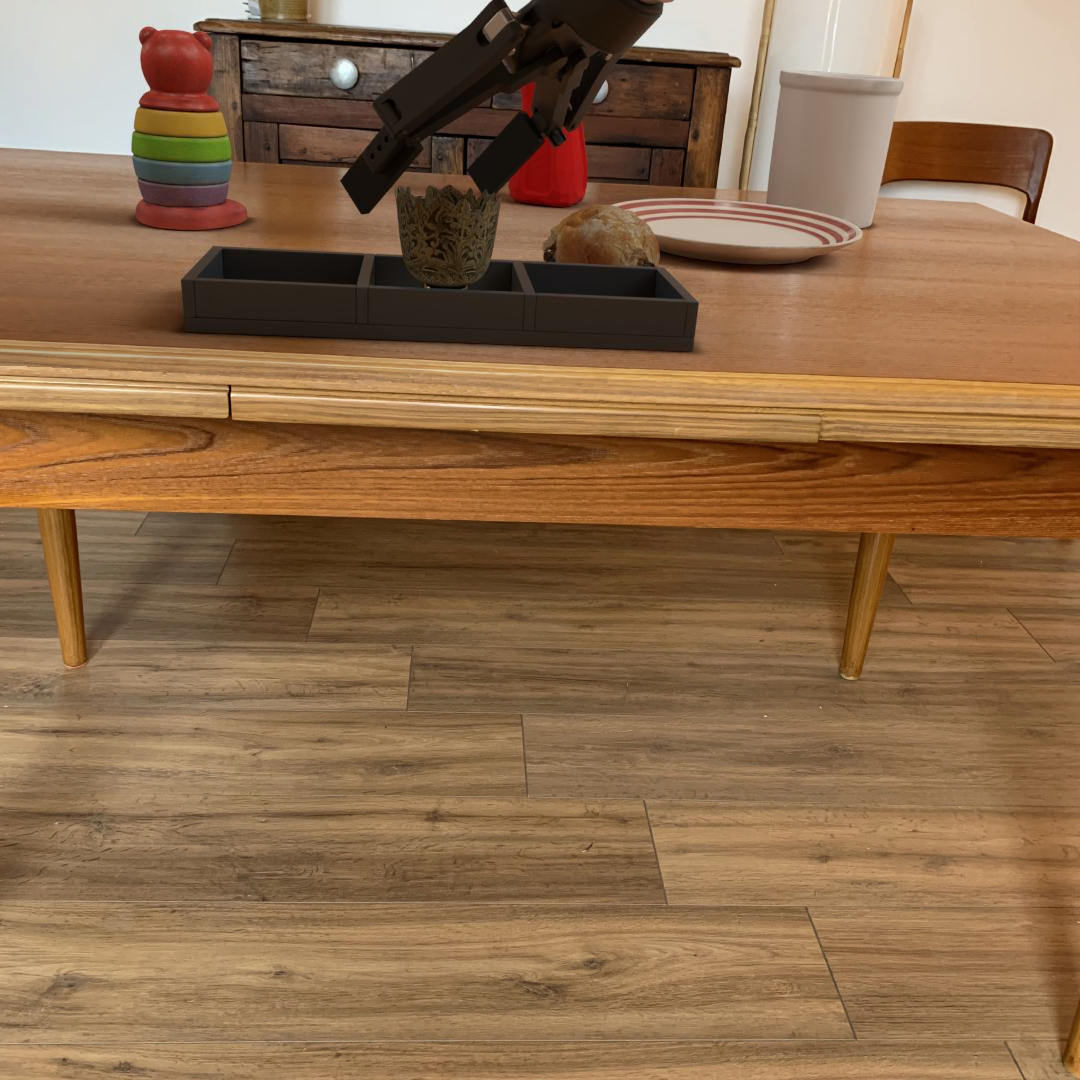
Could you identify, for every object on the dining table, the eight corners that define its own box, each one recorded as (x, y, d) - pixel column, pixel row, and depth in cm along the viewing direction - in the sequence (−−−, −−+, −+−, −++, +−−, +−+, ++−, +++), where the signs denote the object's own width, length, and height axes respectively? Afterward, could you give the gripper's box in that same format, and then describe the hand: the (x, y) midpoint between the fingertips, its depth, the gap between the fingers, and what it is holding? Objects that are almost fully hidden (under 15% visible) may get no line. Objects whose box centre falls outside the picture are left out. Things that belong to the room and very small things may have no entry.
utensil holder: (876, 234, 133) (906, 79, 126) (754, 221, 136) (776, 69, 129) (876, 219, 146) (903, 77, 139) (764, 207, 149) (785, 68, 142)
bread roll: (602, 330, 95) (647, 251, 91) (514, 263, 97) (553, 183, 93) (648, 310, 103) (691, 237, 99) (565, 249, 105) (604, 175, 101)
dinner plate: (829, 287, 101) (835, 251, 100) (559, 248, 111) (561, 214, 109) (876, 248, 124) (882, 217, 122) (649, 218, 134) (652, 189, 132)
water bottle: (495, 203, 136) (506, -22, 126) (524, 194, 146) (536, -16, 135) (566, 211, 134) (583, -17, 123) (591, 201, 143) (608, -11, 133)
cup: (461, 290, 84) (465, 182, 81) (516, 311, 79) (522, 197, 76) (375, 297, 80) (375, 184, 77) (427, 320, 75) (430, 199, 72)
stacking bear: (251, 217, 115) (242, 31, 108) (233, 233, 106) (222, 32, 99) (146, 211, 114) (130, 24, 107) (118, 227, 105) (99, 23, 98)
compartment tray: (184, 332, 73) (180, 279, 71) (215, 292, 84) (212, 245, 82) (692, 351, 77) (699, 302, 75) (659, 311, 88) (664, 267, 86)
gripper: (537, -4, 54) (322, 253, 68) (747, 22, 73) (547, 219, 87) (457, -127, 55) (260, 153, 68) (687, -70, 74) (497, 141, 87)
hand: (420, 190), depth 78 cm, fingers open, 13 cm apart
